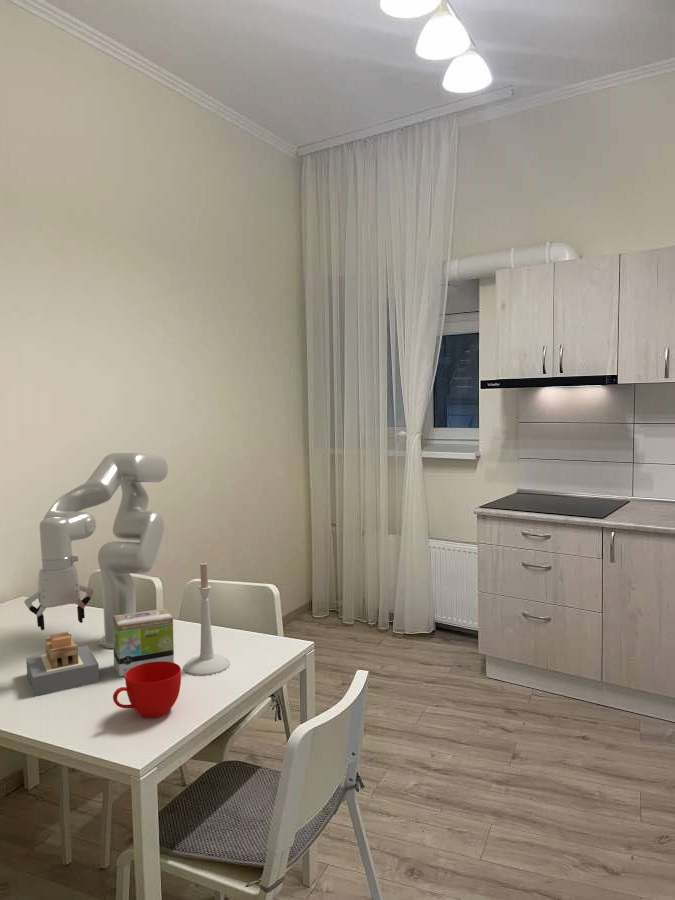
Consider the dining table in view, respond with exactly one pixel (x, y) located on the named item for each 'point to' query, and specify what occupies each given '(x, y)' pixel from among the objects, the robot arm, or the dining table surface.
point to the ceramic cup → (151, 688)
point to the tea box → (142, 639)
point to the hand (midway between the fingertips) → (61, 624)
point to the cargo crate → (60, 640)
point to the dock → (61, 673)
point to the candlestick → (206, 637)
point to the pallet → (61, 653)
